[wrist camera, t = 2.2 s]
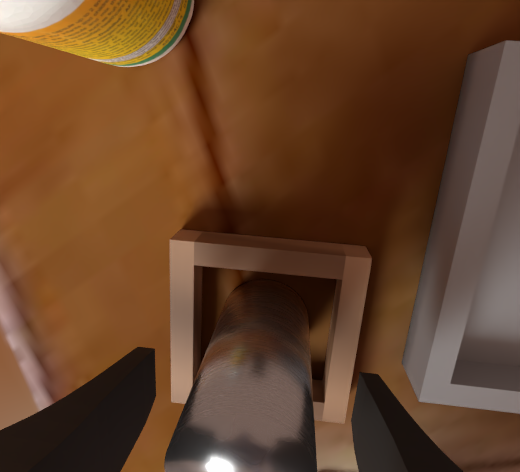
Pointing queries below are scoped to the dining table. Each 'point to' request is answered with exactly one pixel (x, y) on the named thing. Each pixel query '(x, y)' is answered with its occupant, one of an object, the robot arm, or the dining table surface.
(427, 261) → the tray
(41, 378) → the dining table surface
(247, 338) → the pin
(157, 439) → the dining table surface
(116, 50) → the supplement bottle
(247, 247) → the socket block
